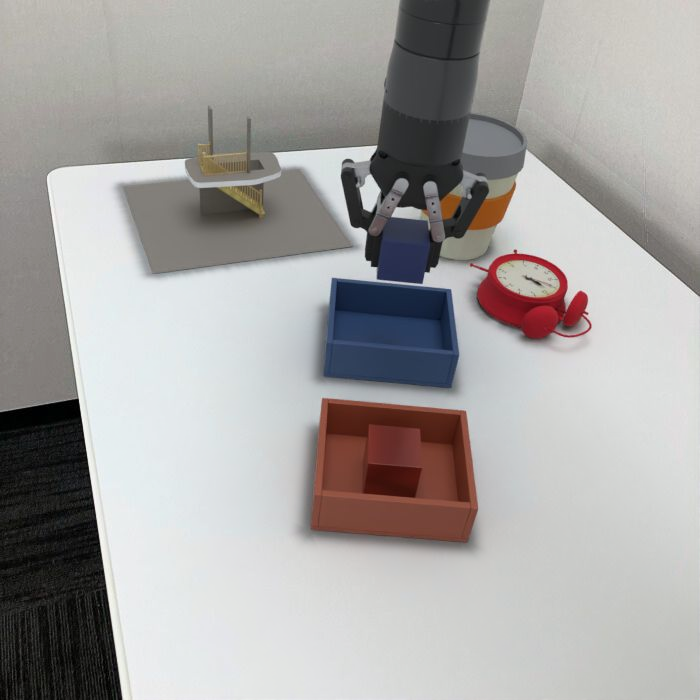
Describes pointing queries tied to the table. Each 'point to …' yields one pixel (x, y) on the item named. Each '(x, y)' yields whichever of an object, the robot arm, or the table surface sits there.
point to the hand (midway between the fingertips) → (400, 264)
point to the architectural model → (230, 212)
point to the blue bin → (391, 333)
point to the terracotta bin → (392, 511)
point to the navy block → (404, 250)
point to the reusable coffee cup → (501, 171)
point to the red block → (392, 461)
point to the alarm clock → (530, 295)
